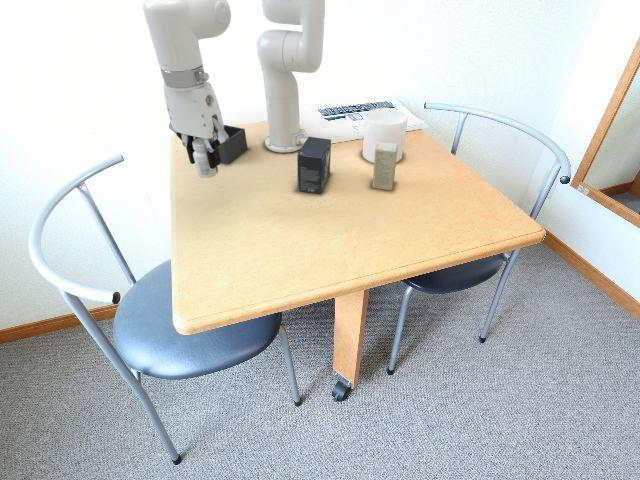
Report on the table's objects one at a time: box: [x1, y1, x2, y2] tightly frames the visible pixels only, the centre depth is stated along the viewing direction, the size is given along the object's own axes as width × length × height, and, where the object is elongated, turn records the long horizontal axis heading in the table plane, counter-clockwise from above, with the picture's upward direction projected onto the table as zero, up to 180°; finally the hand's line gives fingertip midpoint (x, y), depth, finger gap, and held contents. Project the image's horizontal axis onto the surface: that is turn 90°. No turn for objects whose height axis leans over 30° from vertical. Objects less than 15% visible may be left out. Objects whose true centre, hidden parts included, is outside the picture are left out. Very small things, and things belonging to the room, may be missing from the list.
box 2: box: [372, 142, 398, 191], centre depth 93 cm, size 5×4×11 cm
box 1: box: [296, 136, 332, 195], centre depth 95 cm, size 11×7×10 cm, turn 166°
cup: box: [362, 107, 409, 164], centre depth 106 cm, size 12×12×12 cm
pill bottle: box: [192, 138, 219, 179], centre depth 79 cm, size 4×4×8 cm
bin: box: [195, 124, 249, 165], centre depth 109 cm, size 12×10×7 cm
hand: (205, 162), depth 80 cm, fingers closed on pill bottle, 4 cm apart
